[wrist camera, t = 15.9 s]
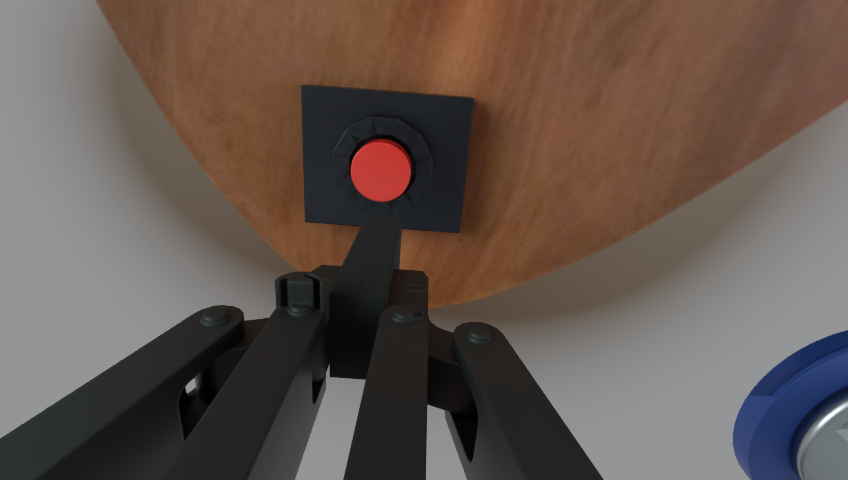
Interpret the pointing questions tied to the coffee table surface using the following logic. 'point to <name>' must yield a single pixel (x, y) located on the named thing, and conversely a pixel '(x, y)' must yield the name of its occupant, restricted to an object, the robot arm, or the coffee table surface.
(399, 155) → the button
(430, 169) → the button block
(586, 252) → the coffee table surface
